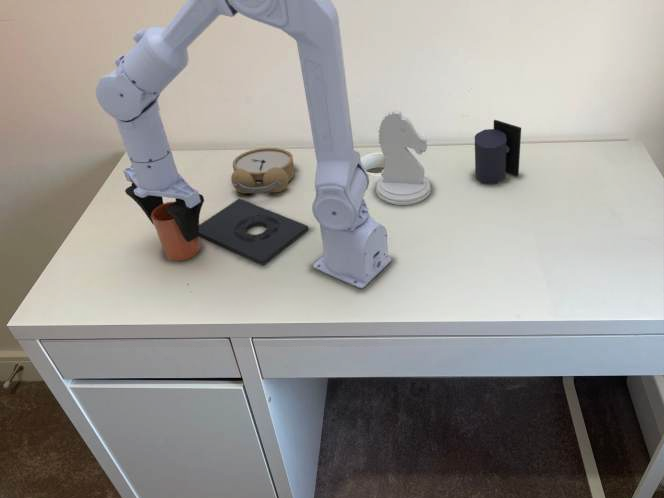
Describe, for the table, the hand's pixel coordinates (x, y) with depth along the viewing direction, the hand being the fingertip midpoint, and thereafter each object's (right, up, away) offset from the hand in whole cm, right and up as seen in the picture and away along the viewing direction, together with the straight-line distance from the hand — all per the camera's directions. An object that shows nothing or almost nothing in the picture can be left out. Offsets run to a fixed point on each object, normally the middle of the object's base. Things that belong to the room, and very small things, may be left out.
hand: (176, 230), depth 90 cm
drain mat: (+10, 0, +6) cm, 12 cm away
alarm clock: (+10, +11, +18) cm, 23 cm away
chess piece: (+36, +9, +14) cm, 40 cm away
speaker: (+53, +11, +16) cm, 56 cm away
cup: (0, -3, +3) cm, 4 cm away
